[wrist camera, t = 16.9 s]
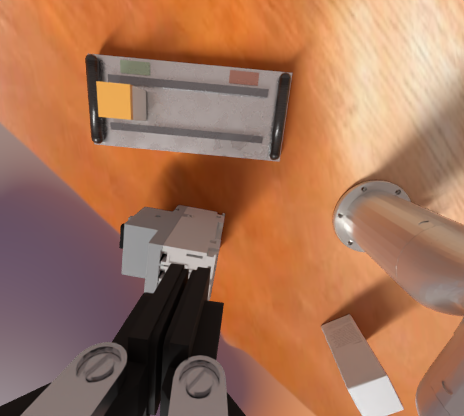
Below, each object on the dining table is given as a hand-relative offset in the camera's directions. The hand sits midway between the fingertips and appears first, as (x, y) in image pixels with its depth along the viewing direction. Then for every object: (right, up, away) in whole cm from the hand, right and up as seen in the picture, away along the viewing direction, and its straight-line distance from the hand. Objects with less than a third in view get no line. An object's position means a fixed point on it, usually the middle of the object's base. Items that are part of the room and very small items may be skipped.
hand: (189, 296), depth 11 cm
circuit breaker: (-7, +1, +34) cm, 35 cm away
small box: (+24, -21, +40) cm, 51 cm away
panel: (-4, +18, +28) cm, 34 cm away
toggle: (-12, +18, +25) cm, 33 cm away
